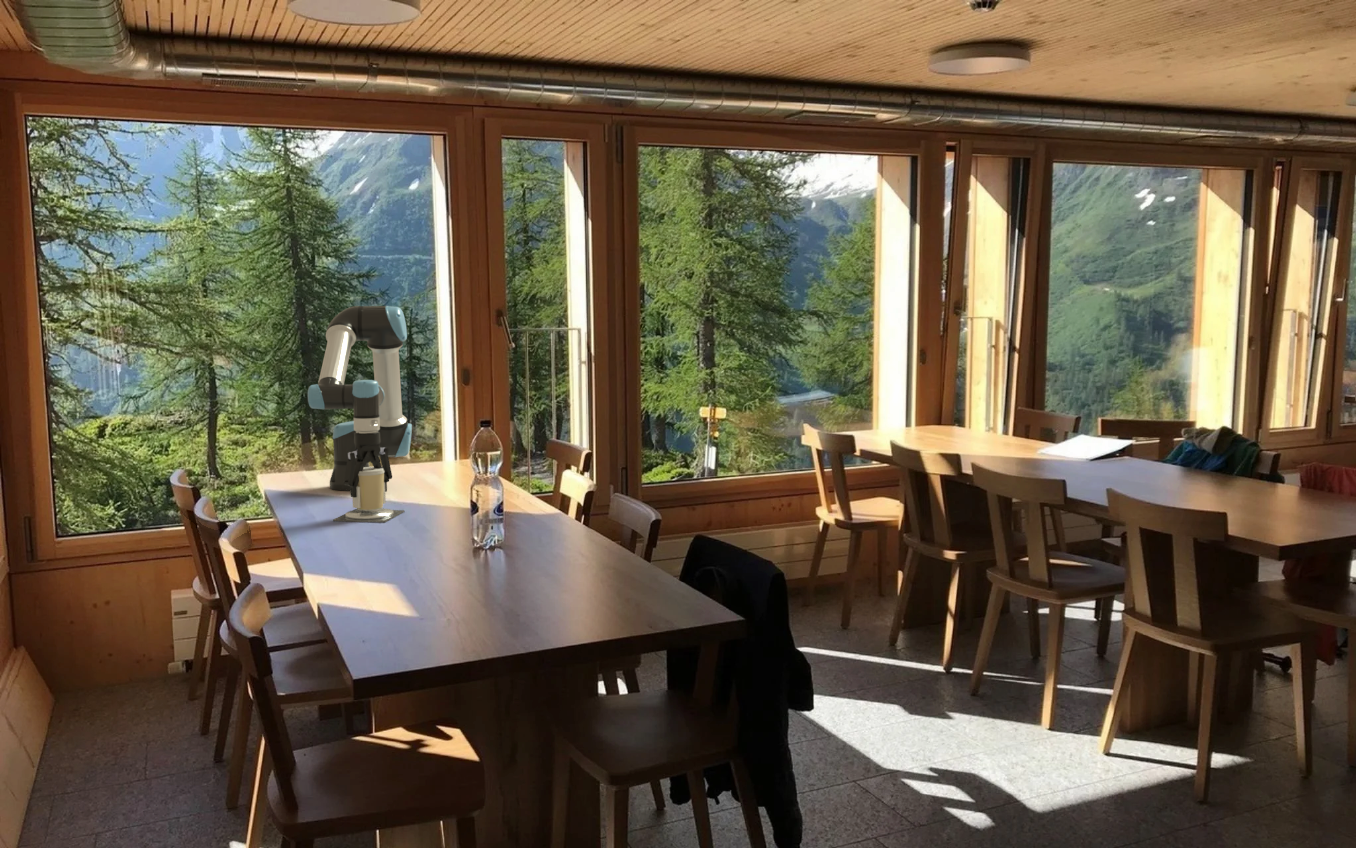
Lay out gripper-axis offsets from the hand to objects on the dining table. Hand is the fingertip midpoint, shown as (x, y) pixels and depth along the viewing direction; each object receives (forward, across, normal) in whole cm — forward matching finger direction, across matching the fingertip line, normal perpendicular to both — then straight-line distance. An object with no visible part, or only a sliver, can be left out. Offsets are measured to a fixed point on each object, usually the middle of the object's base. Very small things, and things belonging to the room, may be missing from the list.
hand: (369, 505), depth 318 cm
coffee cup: (+1, 0, 0) cm, 1 cm away
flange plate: (+3, 0, 0) cm, 3 cm away
